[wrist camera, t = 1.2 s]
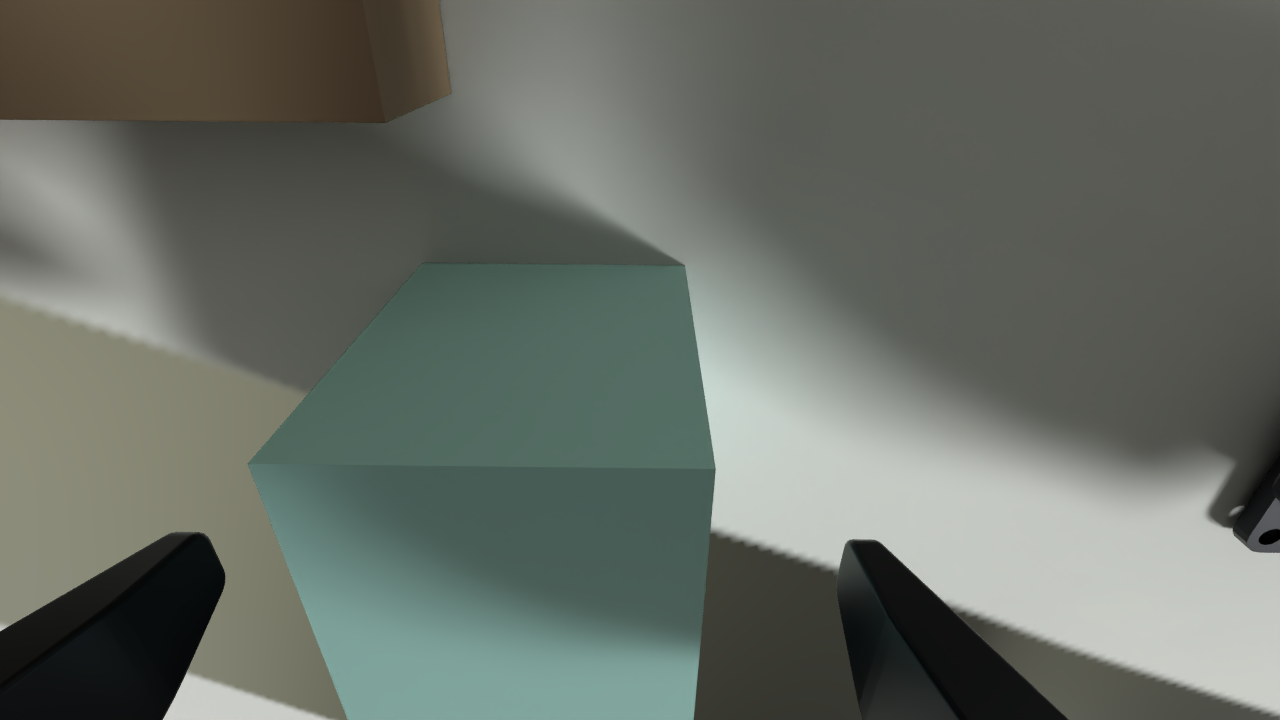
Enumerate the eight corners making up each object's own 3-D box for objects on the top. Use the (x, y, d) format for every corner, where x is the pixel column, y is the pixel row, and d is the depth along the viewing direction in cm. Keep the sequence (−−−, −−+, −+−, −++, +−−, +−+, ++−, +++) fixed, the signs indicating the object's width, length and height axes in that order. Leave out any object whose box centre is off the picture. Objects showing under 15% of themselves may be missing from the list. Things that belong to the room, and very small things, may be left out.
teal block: (685, 265, 12) (714, 468, 7) (675, 469, 14) (692, 734, 9) (423, 262, 12) (247, 463, 7) (459, 466, 14) (352, 730, 9)
